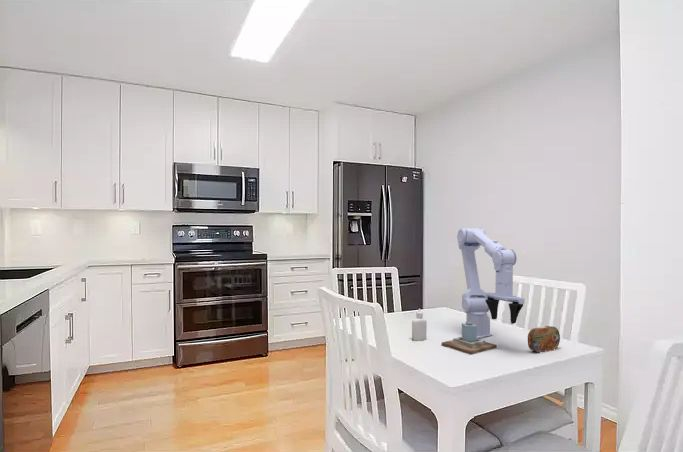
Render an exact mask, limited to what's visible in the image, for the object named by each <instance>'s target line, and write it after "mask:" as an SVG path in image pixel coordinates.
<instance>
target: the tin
mask: <svg viewBox="0 0 683 452" xmlns="http://www.w3.org/2000/svg"><path fill="white" fill-rule="evenodd" d="M560 343H561V334H560V331H559V329H558V328H557V327H556V326H551V325H550V326H549V325H545V326H540V327H533V328H531V329H530V331H528V334H527V345H528V348H529V350H531V351H533V352H536V353H539V354H541V353H540V352H542V353H546V352H550V350H551V351H554V349H555V350H556V349H557V348H558V347H559V345H560ZM545 351H546V352H545Z"/></svg>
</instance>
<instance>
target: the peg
mask: <svg viewBox="0 0 683 452" xmlns="http://www.w3.org/2000/svg"><path fill="white" fill-rule="evenodd" d="M461 337H462V341H466V342H469V343H472V342H476V341H477V326H476V325H474V324H473V322H471V321H466V320H465V323H461Z"/></svg>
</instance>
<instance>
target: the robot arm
mask: <svg viewBox="0 0 683 452" xmlns="http://www.w3.org/2000/svg"><path fill="white" fill-rule="evenodd" d="M456 238H457V245H458V249H459V250H460V251H461V256H462V264H463V270H464V277H465V281H466V282H465V283H466V289H467V290H466V291H464V293H463V294H462V295H461V307H462V310H463V312H464V313H465V314H466V317H465V322H466V321H471V322H473V324H474V325H476V326H477V339H482V338H486V337H491V336H492V333H491V320H497V318H498V309H499V304H500V301H502V302H508V307H509V313H510V324H512V325H514V324H516V323H517V320H518V317H519V313H520V311H521V310H522V308H523V307H524V305H525V298H524V297H520V296H516V295H513V291H514V290H513V289H514V288H513V286H514V285H513V284H514V283H513V282H514V281H513V280H514V279H513V277H514V275H513V274H514V265H516V264H517V260H518V259H517V253H516V252H515V250H514V249H507V248H506V247H505V246H504V245H502V244H500V243H499V241H498V240H497V239H490V238H489V237H488V235H486V230H485V229H483V227H478V228H476V227H475V228H473V227H471V228H470V227H468V228H467V227H465V228H464V227H461V228H459V230H458V232H457V235H456ZM481 246H482V247H484V252H485V253H486V254H488V256H490V257H491V258H492V263H493V269H494V271H495V292H486V291H484V289H481V284H480V283H481V282H480V278H479V272H478V271H479V270H478V265H477V261H476V254H475V252H476V250H478V249H479V248H480V247H481ZM489 312H490V316H491V318H490V316H489V315H488V313H489Z"/></svg>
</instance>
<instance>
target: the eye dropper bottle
mask: <svg viewBox="0 0 683 452" xmlns="http://www.w3.org/2000/svg"><path fill="white" fill-rule="evenodd" d="M423 314H424V313H423V311H421V308H418V310H417V311H416V313H415V315H416V316H415V318H413V319H412V322H411V340H412V341H416V342H417V341H418V342H419V341H426V340H427V325H428V324H427V319H426V318H423Z"/></svg>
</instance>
